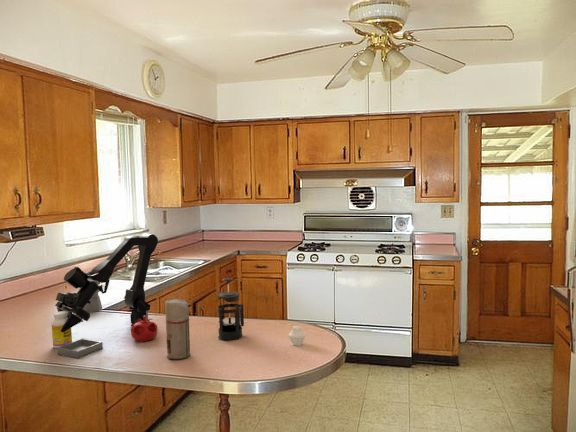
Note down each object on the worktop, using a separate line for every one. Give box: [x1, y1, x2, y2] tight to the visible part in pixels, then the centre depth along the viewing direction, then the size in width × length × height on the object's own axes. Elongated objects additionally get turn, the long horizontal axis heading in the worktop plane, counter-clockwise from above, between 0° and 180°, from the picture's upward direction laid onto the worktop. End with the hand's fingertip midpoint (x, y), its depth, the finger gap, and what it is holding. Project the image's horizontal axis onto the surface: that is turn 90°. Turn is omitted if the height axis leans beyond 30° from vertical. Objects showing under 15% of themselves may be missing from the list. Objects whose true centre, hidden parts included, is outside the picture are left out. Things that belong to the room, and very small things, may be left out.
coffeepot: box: [84, 279, 110, 313], centre depth 230 cm, size 15×9×18 cm, turn 113°
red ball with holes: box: [130, 316, 158, 343], centre depth 184 cm, size 10×10×9 cm
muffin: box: [288, 325, 306, 347], centre depth 173 cm, size 6×6×7 cm
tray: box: [56, 338, 104, 360], centre depth 173 cm, size 11×11×2 cm
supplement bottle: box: [51, 311, 73, 349], centre depth 180 cm, size 7×7×13 cm
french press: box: [216, 277, 245, 342], centre depth 183 cm, size 12×9×23 cm
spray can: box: [164, 298, 191, 360], centre depth 165 cm, size 8×8×20 cm
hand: (57, 329), depth 179 cm, fingers closed on supplement bottle, 7 cm apart
